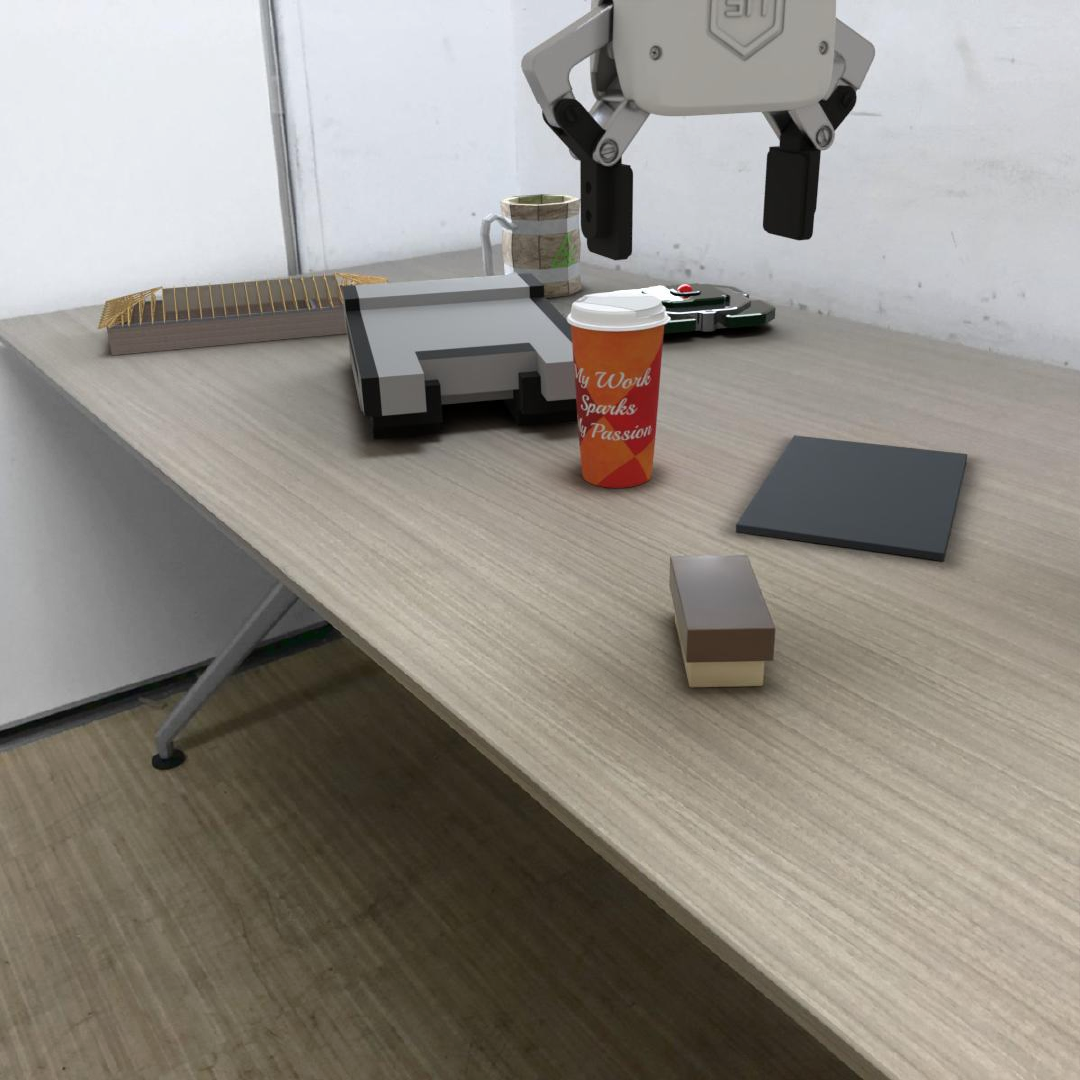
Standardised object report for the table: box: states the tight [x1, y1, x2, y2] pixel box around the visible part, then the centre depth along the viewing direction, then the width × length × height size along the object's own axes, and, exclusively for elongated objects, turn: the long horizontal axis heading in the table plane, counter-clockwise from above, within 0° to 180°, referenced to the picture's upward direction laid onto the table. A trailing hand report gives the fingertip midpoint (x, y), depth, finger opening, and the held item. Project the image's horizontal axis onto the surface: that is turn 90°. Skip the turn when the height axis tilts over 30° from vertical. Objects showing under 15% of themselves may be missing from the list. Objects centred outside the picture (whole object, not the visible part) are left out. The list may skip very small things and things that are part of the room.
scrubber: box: [668, 554, 776, 688], centre depth 63 cm, size 9×5×4 cm, turn 0°
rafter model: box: [96, 271, 391, 356], centre depth 136 cm, size 35×14×6 cm, turn 106°
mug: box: [479, 193, 583, 299], centre depth 150 cm, size 16×11×12 cm
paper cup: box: [566, 291, 671, 489], centre depth 86 cm, size 8×8×14 cm
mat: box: [735, 435, 968, 562], centre depth 84 cm, size 20×14×1 cm
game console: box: [341, 273, 578, 440], centre depth 109 cm, size 21×32×8 cm, turn 12°
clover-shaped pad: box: [612, 282, 777, 335], centre depth 134 cm, size 18×18×5 cm
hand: (700, 245), depth 52 cm, fingers open, 9 cm apart
